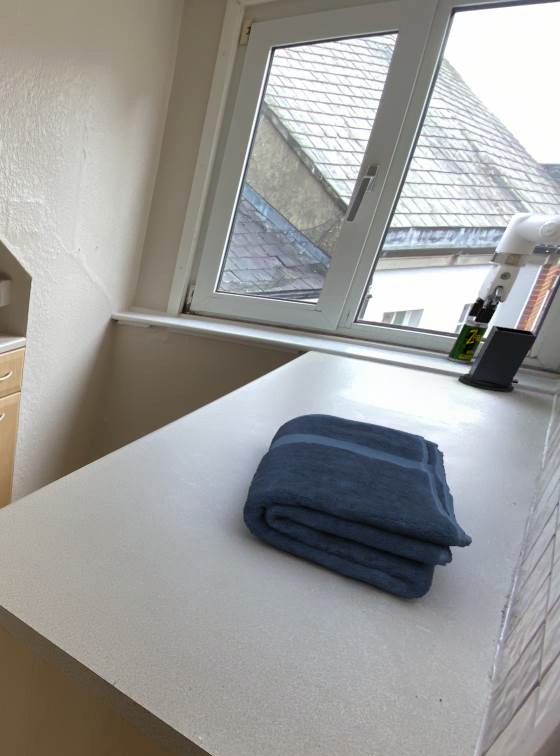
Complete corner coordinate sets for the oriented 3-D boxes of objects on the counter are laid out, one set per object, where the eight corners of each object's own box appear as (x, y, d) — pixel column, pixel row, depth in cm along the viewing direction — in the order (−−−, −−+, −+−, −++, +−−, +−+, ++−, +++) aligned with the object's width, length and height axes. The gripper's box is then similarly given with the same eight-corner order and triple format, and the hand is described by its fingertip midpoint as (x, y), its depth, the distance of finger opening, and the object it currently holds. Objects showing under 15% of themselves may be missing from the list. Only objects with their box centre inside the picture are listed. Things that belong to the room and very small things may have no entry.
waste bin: (462, 373, 154) (487, 324, 147) (512, 382, 148) (540, 331, 142) (464, 381, 147) (491, 330, 141) (516, 391, 141) (547, 338, 135)
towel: (427, 483, 96) (455, 429, 91) (440, 615, 65) (484, 545, 61) (273, 441, 109) (291, 393, 104) (225, 536, 78) (248, 474, 74)
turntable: (507, 384, 149) (508, 381, 149) (517, 395, 141) (519, 392, 141) (455, 375, 155) (456, 372, 154) (461, 385, 147) (463, 382, 146)
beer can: (442, 357, 172) (461, 319, 166) (459, 358, 172) (479, 320, 166) (456, 362, 167) (476, 323, 161) (474, 363, 167) (494, 324, 161)
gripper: (535, 264, 148) (501, 327, 155) (519, 258, 160) (488, 316, 168) (498, 261, 151) (466, 322, 159) (485, 255, 164) (456, 312, 172)
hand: (478, 319), depth 164 cm, fingers open, 9 cm apart
